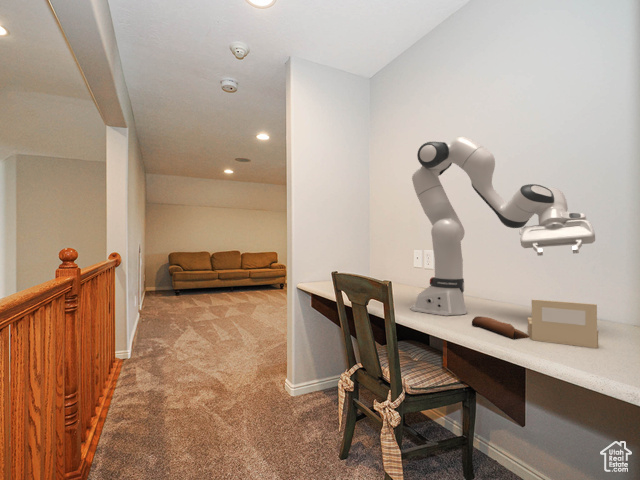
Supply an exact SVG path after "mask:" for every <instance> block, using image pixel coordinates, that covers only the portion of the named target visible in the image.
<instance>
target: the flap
mask: <svg viewBox="0 0 640 480" xmlns="http://www.w3.org/2000/svg"><path fill="white" fill-rule="evenodd" d="M531 318H532V339H531V341H537V342H546V343H551V344H552V343H553V344H561V345H569V346H575V347H584V348H590V349H591V348H592V349H597V348H598V347H597V330H598V305H597V303H587V302H585V303H584V302H570V301H559V300H557V301H556V300H544V299H535V298H534V299H533V298H532V299H531Z"/></svg>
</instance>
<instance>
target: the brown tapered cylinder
mask: <svg viewBox="0 0 640 480" xmlns="http://www.w3.org/2000/svg"><path fill="white" fill-rule="evenodd" d="M471 325H472V326H474V327H479V328H482V329H486V330H489V331H491V332H494V333H497V334H499V335H502V336H505V337H507V338H510V339H513V340H514V341H515V340H520V339H530V338H529V335H528V333H526V332H524V331H521V330H519V329H518V328H515V327H514V326H513V324H511V323H506V322H504V321H503V322H502V321H500V320H497V319H494V318H491V317H487V316H481V315H480V316H474V317H473V318H472V320H471Z"/></svg>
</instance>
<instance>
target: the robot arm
mask: <svg viewBox="0 0 640 480" xmlns="http://www.w3.org/2000/svg"><path fill="white" fill-rule="evenodd" d="M416 155H417V156H416V157H417V161H418V163H419V164H420V165H421V167H420V168H419V169H416V171H415V172H414V173H413V174H412V177H411V179H412V180H411V181H412V185H413V188H414V192H415V194H416V196H417V199H418V201H419V203H420V205H421V208H422V210H423V212H424V214H425V216H426V217H427V218H428V220H429V222H430V223H431V225H432V227H431V230H430V231H431V232H430V233H431V240H432V241H431V242H432V249H433V250H432V251H433V257H434V276H432V277H431V278H430V279H429V286H428V287H426V288H425V289H424V290H422V291H421V292H420V293H418V294H417V296H416V300H415V303H414V304H412V305H410V311H413V312H419V313H426V314H433V315H439V316H458V315H466V314H467V313H468V310H467V308H466V303H465V298H464V291H465V279H464V277H463V276H464V275H463V274H464V273H463V272H464V271H463V267H464V266H463V265H464V264H463V261H464V259H463V253H462V240H464V237H465V229H464V226H463V224H462V221H461V220H460V218H459V216H458V214H457V212H456V210H455V209H454V207H453V205H452V203H451V202H450V200H449V198H448V195H447V193H446V191H445V189H444V187H443V185H442V182H441V180H440V176H441V175H442V174H443V173H445V172H446V171H447V170H448V169H449V168H450V167H451V166H452V164H454V165H456V166H457V167H459V168H460V169H461V170H463V172H465V173H466V175H467V176H468V177H469V179H470V182H471V187H472V189H473V190H474V191H475V192H476V193H477V195H478V196H479V197H480V198H481V199H482V200H483V201H484V203H485V204H486V205H487V206H488V207H489V208H490V209H491V210H492V211H493V212H494V214H495V215H496V216H497V218H498V220H499V221H500V222H501V223H502V225H504V226H505V227H508V228H511V229H519V235H520V245H521V247H522V248H524V249H532V248H533V250H534V251H535V252H536V254H537V256H540V257H541V256H544V253H543V248H544V247H545V248H546V247H559V246H561V247H562V246H571V247H572V248H571V250H572V254H579V253H580V252H579V250H580V249H581V247H583V245H586V244H593V243H594V242H595V241H596V233H595V230H594V227H593V224H592V223H591V222H590V221H589V220H588V219H587V216H586V214H585V213H582V212H581V213H580V212H569V210H568V209H569V208H568V202H567V199H566V196H565V195H564V193H563V192H562V190H561V189H559V188H555V187H546V186H543V185H540V184H533V183H532V184H529V183H528V184H524V185H522V186H521V187H520V188H519V189H518V190H516V192H515V194H514V195H513V196H512V197H511V198H510V200H509V201H508V202H506V201H505V199H504V198H503V197H502V196H501V194H499V193H498V192H497V191H496V190H495V189H494V187H493V182H492V181H493V175H494V172H495V167H496V161H495V156H494V154H493V153H492V152H491V151H490V150H488V149H487V148H485V146H484V145H483V146H482V144H480V143H478V142H476V141H475V140H473V139H471V138H469V137H467V136H463V135H462V136H457V137H455V138H454V139H453V140H451V142H450V143H449V144H447V143H446V142H444V141H443V142H442V141H427V142H425V143H423V144H421V146H420V147H419V148H418V151H417V154H416ZM535 215H537V217H538V224H535V225H531V226H530V225H529V226H528V225H526V224H527V223H528V221H530V219H531V218H532V217H533V216H535ZM572 245H573V246H572Z"/></svg>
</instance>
